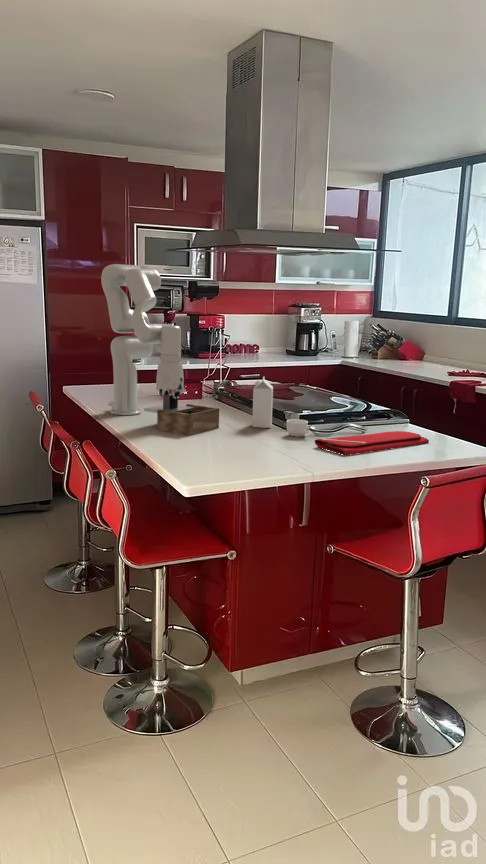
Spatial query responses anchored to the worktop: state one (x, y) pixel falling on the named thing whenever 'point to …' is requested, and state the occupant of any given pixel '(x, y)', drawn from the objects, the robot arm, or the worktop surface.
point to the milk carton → (262, 404)
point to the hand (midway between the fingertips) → (170, 407)
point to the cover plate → (179, 409)
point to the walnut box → (188, 420)
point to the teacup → (297, 427)
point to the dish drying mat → (370, 442)
